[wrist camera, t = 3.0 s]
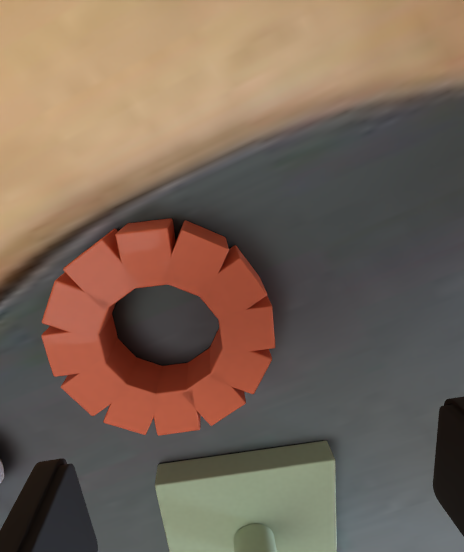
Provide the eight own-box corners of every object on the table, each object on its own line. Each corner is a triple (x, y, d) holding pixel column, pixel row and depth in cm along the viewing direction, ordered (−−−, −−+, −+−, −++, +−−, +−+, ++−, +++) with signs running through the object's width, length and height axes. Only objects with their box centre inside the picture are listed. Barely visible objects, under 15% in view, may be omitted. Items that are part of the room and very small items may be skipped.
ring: (39, 233, 16) (12, 245, 14) (257, 207, 17) (265, 215, 14) (90, 414, 20) (75, 447, 17) (272, 389, 20) (281, 419, 18)
